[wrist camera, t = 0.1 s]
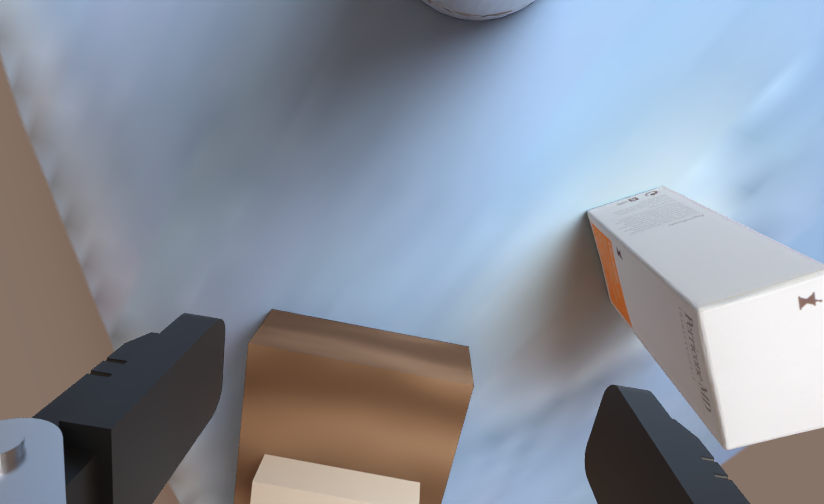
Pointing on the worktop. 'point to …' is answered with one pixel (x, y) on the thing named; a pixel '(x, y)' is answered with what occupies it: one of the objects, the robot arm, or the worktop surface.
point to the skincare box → (718, 313)
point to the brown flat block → (352, 401)
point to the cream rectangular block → (326, 485)
